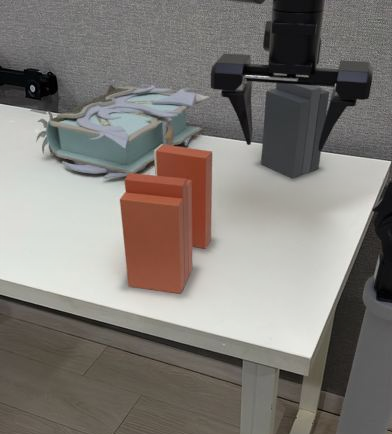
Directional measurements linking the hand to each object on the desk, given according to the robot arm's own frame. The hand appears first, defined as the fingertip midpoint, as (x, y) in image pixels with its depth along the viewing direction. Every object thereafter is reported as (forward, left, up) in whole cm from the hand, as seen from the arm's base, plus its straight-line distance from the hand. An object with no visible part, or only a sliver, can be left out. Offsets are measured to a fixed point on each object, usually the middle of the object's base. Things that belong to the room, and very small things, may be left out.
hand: (284, 146), depth 73 cm
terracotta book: (+12, +4, -13) cm, 18 cm away
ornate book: (+32, -26, -13) cm, 43 cm away
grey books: (+1, -25, -13) cm, 28 cm away
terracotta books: (+13, +14, -13) cm, 23 cm away
